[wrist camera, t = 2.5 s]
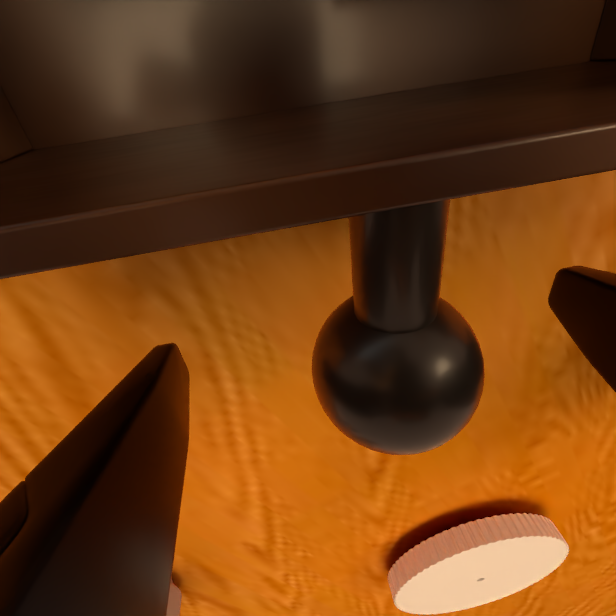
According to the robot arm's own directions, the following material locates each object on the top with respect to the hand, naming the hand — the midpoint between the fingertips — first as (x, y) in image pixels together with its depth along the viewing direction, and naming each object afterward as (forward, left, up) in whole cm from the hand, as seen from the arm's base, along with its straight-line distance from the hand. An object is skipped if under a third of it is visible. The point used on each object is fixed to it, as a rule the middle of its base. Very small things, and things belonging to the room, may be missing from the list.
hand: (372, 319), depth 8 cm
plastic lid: (-9, +30, -5) cm, 32 cm away
